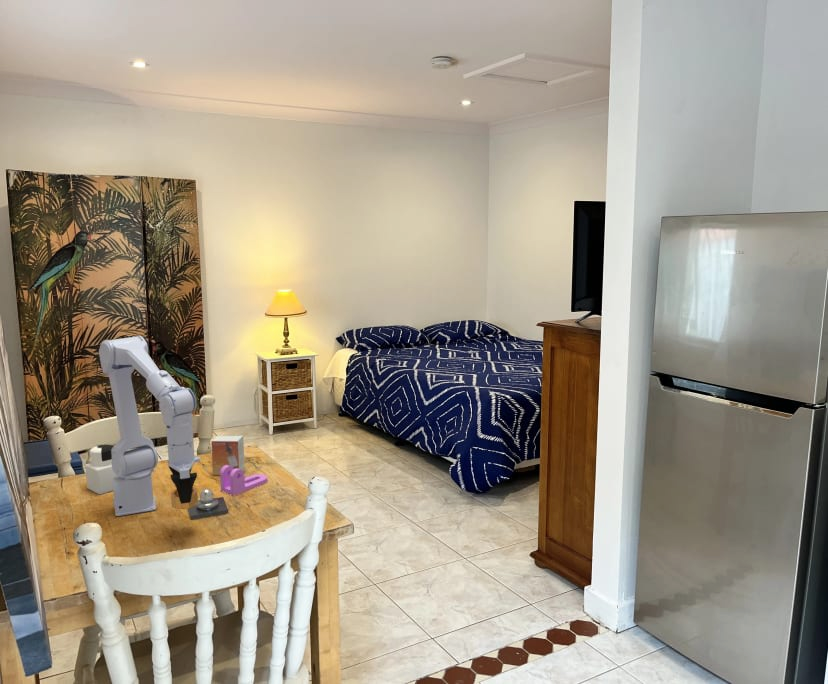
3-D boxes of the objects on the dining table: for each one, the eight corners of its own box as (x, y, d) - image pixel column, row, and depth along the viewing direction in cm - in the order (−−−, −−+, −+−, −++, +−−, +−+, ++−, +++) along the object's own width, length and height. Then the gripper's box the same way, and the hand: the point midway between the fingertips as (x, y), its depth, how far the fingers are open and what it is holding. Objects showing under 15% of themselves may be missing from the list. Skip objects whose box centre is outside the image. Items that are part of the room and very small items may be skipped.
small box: (212, 475, 195) (210, 440, 193) (218, 468, 200) (216, 434, 199) (239, 476, 195) (237, 441, 193) (245, 469, 200) (243, 435, 198)
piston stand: (190, 519, 166) (189, 498, 165) (187, 506, 174) (186, 485, 173) (228, 513, 169) (227, 492, 168) (223, 500, 177) (222, 480, 176)
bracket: (234, 496, 180) (232, 471, 179) (221, 491, 184) (219, 467, 182) (271, 481, 190) (270, 458, 189) (258, 477, 194) (257, 454, 193)
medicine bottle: (112, 481, 191) (108, 440, 189) (124, 487, 187) (121, 445, 185) (87, 489, 186) (82, 447, 184) (99, 495, 182) (95, 452, 180)
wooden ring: (172, 510, 154) (171, 498, 154) (170, 501, 159) (170, 489, 159) (199, 506, 157) (198, 494, 156) (196, 497, 162) (195, 485, 161)
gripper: (202, 448, 150) (205, 506, 153) (195, 430, 163) (198, 484, 166) (168, 453, 148) (172, 511, 150) (164, 434, 161) (168, 488, 163)
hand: (184, 497), depth 158 cm, fingers closed on wooden ring, 6 cm apart
